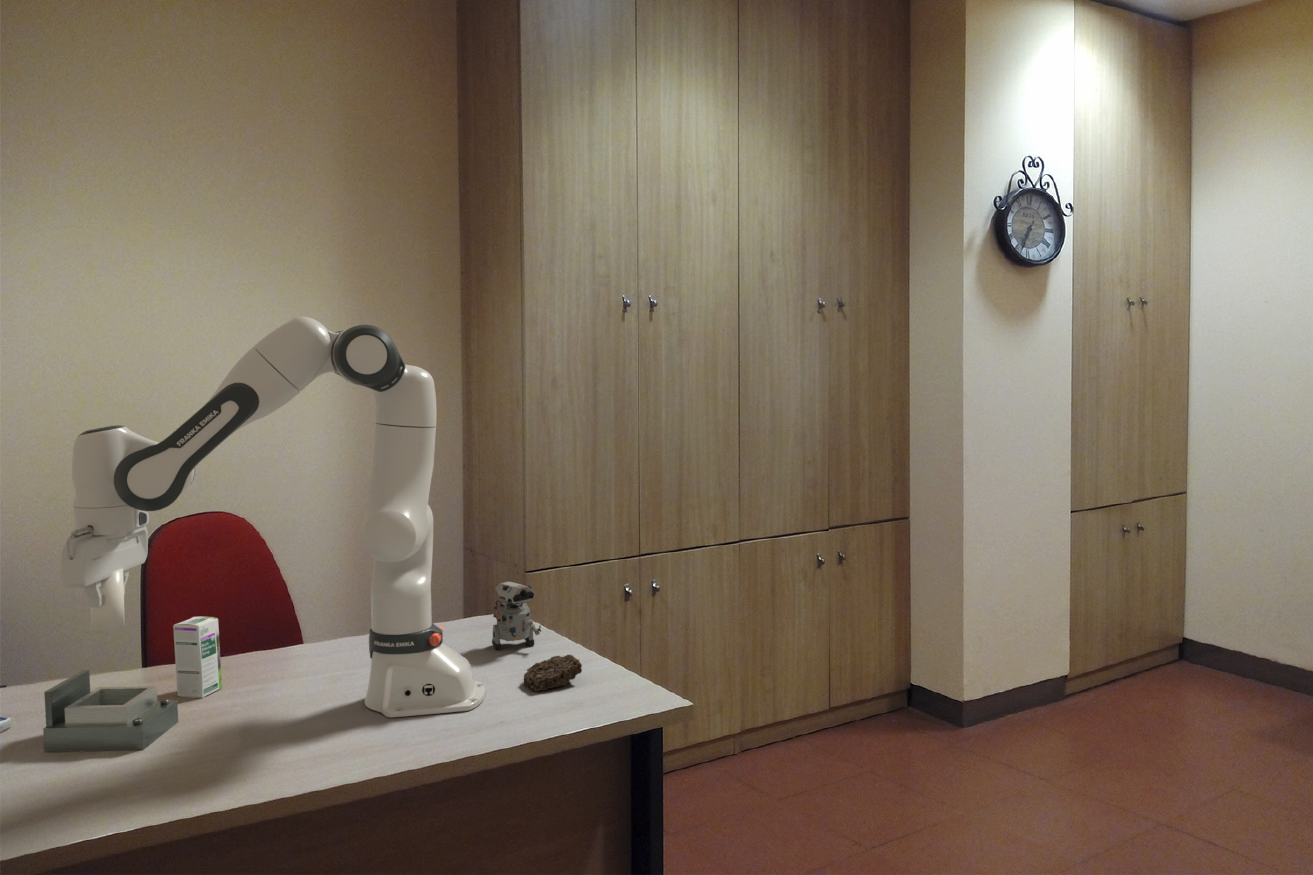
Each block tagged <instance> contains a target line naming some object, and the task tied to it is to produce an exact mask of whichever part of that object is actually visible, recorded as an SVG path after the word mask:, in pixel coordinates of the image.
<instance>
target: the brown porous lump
mask: <svg viewBox="0 0 1313 875" xmlns="http://www.w3.org/2000/svg"><path fill="white" fill-rule="evenodd" d="M580 661H581V660H580V659H577V657H574V655H572V654H567V655H563V656H560V655H555V656H551V658H549V659H543V661H542V660H541V661H540V662H535V663H534V664H532V666H530V667H529V668H527V669H526V672H525V673H524V674H523V682H522V683H523V685H524V686H525V687H526V688H528V689H530V690H531V691H532V692H539V691H545V690H548V689H550V688H551V689H553V688H557V687H560V686H565V685H567V684H568V683H569V682H570V681H571V680H574V679H575V678H576V676H578V675H579V674H581V673H582V671H583V669H582V666H583V664H582V663H581V662H580Z"/></svg>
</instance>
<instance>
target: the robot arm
mask: <svg viewBox="0 0 1313 875" xmlns="http://www.w3.org/2000/svg"><path fill="white" fill-rule="evenodd" d="M398 349H399V348H397V345H396V343H395V341H394V340H393V339H392V337H391V336H390V335H389V334H388V333H387V331H385V330H384V329H382V328H380V327H378V326H375V325H372V324H365V323H364V324H362V323H361V324H356V325H351V326H349V327H348V328H346V329H344V330H338V331H335V332H334V331H331V330H329V329H328V328H327V327H326V326H324V325H323V323H321V322H320V321H318V320H317V319H315V318H312V317H309V316H304V315H303V316H302V315H301V316H297V317H294V318H292V319H290V320H289V321H287V322H285V323H283V324H282V325H280V326H278V327H277V328H275V329H274V330H273V331H271V332H269V333H268V334H267V335H266V336H264V337H263V338H262V339H260V340H259V341H258V342H257V343H255V345H254V346H252V347H251V348H250V349H249V350H248V351H247V352H246V353H245V354H244V355H243V356H242V357H240V359H239V360H238V361H237V362H236V363H235V364H234V366H233V367H232V368H231V369H230V370H229V371H228V373H227V375H226V376H225V378H224V379H223V380H222V381H221V383H220V384H219V386H218V387H217V389H216V390H215V391H214V393H213V394H212V396H210V398H209V399H208V400H207V402H206V403H204V405H202V407H201V408H199V410H197V411H196V412H194V414H192V415H191V417H189V418H188V419H186V420H185V421H184V422H183V423H182V424H181V425H179V427H177V428H176V429H175V430H174V431H173V432H172V433H171V434H169V435H168V436H167V437H166V438H164V439H162V440H161V441H156V440H154V439H151V438H148V437H145V436H143V435H141V434H138V433H136V432H134V431H133V430H131V429H129V427H127V426H124V425H117V424H116V425H108V426H104V427H98V428H92V429H87V430H85V431H84V432H81V433H80V434H79V435H77V437H75V440H74V443H73V450H72V459H71V461H72V462H71V479H72V484H73V486H74V489H75V496H74V498H73V500H74V501H73V505H72V507H73V510H72V511H73V529H74V530H72V531H71V532H70V534H69V536H68V538H67V539H66V541H65V543H64V544H63V547H62V550H61V560H60V583H61V584H62V586H63V587H64V588H67V589H69V588H70V589H71V588H73V589H76V588H77V589H78V588H79V589H81V588H82V589H83V590H84V593H85V594H86V597H88V598H87V599H88V607H89V608H90V607H91V608H97V607H100V606H102V605H104V595H101V592H100V589H99V587H101V580H103V579H106V578H108V577H110V576H111V575H112V572H115V571H117V570H120V569H122V568H123V581H124V596H125V595H126V586H127V582H128V579H129V576H130V573H129V572H130V569H134V568H135V567H139V566H140V565H142V564H144V563H146V560H147V557H148V554H149V553H148V551H149V548H148V545H149V537H148V536H149V533H148V532H149V531H148V528H147V526H146V525H148V524H149V521H150V515H149V514H150V513H149V512H156V511H161V510H163V509H166V508H167V507H169V506H170V505H172V504H173V503H175V502H176V501H177V500H178V498H179V497H180V495H182V494H183V493H184V492H185V491H186V490H188V488H189V487H190V486H191V485H192V483H193V481H194V480H195V479H194V478H195V475H196V467H197V466H198V465H199V463H200V462H202V461H203V460H204V459H205V458H206V457H207V456H208V455H210V454H211V453H212V452H213V451H214V450H215V449H216V448H218V447H219V446H220V445H221V444H222V443H223V442H224V441H225V440H226V439H227V438H229V437H230V436H231V435H233V433H235V432H236V431H238V430H240V429H241V428H243V427H245V426H247V425H249V424H251V423H253V422H255V421H256V422H257V420H260V419H262V418H265V417H267V416H269V415H271V414H272V413H274V412H276V411H277V410H279V409H280V408H283V406H285V405H286V404H288V403H289V402H291V401H292V400H293V399H294V398H295V397H296V396H298V395H299V394H300V393H301V392H302V391H303V390H305V388H306V387H308V386H309V385H310V384H311V383H312V382H313V381H314V380H316V379H317V378H319V376H322V375H324V374H327V373H334V374H336V375H338V376H340V377H341V378H343V379H344V380H345V381H346V382H349V383H351V384H353V385H356V386H361V387H362V386H363V387H365V388H368V389H371V390H372V392H373V393H374V396H375V403H376V411H375V424H374V426H375V427H374V440H373V456H372V467H371V472H370V477H369V478H370V479H369V484H368V490H367V496H366V503H365V511H364V516H363V517H364V518H363V525H362V526H363V527H362V532H361V533H362V534H361V535H362V536H361V537H362V539H361V540H362V544H363V547H364V549H365V550H366V552H367V553H368V554H369V555H370V556H371V557H372V558H373V567H372V568H373V569H372V577H371V584H370V612H371V613H370V614H371V615H370V616H371V617H370V618H371V628H370V629H369V631H368V632H369V635H368V653H369V659H370V660H371V661H370V672H369V679H368V686H367V691H366V696H365V699H364V702H363V703H364V705H365V707H366V708H368V709H370V710H372V711H375V712H379V713H382V715H383V716H385V717H387V718H400V717H401V718H402V717H412V716H425V715H433V714H435V715H436V714H444V713H445V714H446V713H455V712H456V713H457V712H467V711H471V710H473V709H475V708H476V707H478V706H479V705H480V704H481V703H483V701H484V699H485V696H486V692H487V691H486V685H485V684H484V683H483V682H481V681H479V680H474V673H473V669H472V665H471V664H470V662H469V660H468V659H467V658H466V657H464V656H462V655H461V654H459V653H458V652H456V651H455V650H454V649H453V648H451V647H449V646H448V645H446V644H444V643H443V640H444V639H443V638H444V637H443V636H444V635H443V632H444V627H443V625H441V626H440V627H438V626H437V625H435V624H434V623H433V622H432V621H433V620H432V569H433V553H434V552H433V549H434V514H433V511H432V509H431V506H430V505H429V499H430V497H429V496H430V492H431V490H430V489H431V484H432V476H433V472H434V468H435V467H434V465H435V462H434V461H435V453H436V452H435V449H436V448H435V447H436V433H437V417H438V416H437V414H438V413H437V410H438V409H437V394H436V388H435V387H436V386H435V380H434V378H433V377H432V375H431V374H430V372H429V371H427V370H425V369H424V368H422V367H419V366H415V365H412V364H411V365H409V364H405V361H404V360H403V358H402V356H401V354H400V351H399V350H398Z"/></svg>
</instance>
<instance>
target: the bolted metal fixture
mask: <svg viewBox="0 0 1313 875" xmlns="http://www.w3.org/2000/svg"><path fill="white" fill-rule="evenodd" d="M90 677H91V676H90V669H83V670H81V671H78V673H76V674H74V675H72V676H70V677H68V678H67V679H64V681H62V682H59V683H58V684H56V685H55V686H53V687H51V688H49V689H47V690H46V691H44V708H45V710H44V711H45V727H43V729H42V731H43V732H42V733H43V751H44V753H56V752H58V753H60V752H61V753H62V752H64V753H65V752H67V753H68V752H69V753H70V752H103V751H104V752H105V751H107V752H109V751H111V752H112V751H115V752H116V751H144V750H145V749H146V748H148V747H149V746H150V745H151V744H152V743H154V742H155V741H156V740H158V739H159V738H160V737H161V736H162V735H164V734H165V733H166V732H168V731H169V730H170V729H171V728H172V727H174V726H175V725H177V724H178V723H179V708H178V700H177V699H172V700H171V699H169V698H163V699H160V700H158V690H157V689H158V688H157V685H155V686H153V685H148V686H144V685H143V686H100V687H99V686H98V687H97V688H95V689H93V690H92V691H91V682H90V679H91V678H90Z"/></svg>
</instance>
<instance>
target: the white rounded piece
mask: <svg viewBox="0 0 1313 875" xmlns="http://www.w3.org/2000/svg"><path fill="white" fill-rule="evenodd" d="M99 589H100V592H101V595H104V605H102V606H100V607H97V608H91V607H89V615H90V616H89V617H90V620H89V621H90V631H91V632H93V633H107V632H108V633H109V632H115V631H119V630H122V629H124V628H125V627H126V623H125V622H126V618H125V595H124V581H123V568H122V569H120V570H117V571H115V572H112V575H111V576H110V577H108V578H106V579H103V580H101V587H99Z"/></svg>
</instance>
